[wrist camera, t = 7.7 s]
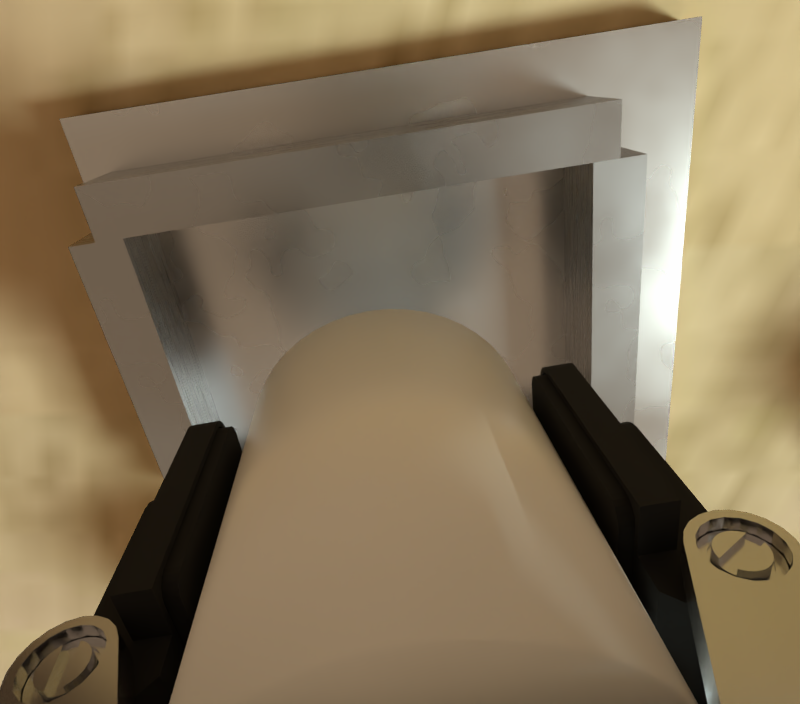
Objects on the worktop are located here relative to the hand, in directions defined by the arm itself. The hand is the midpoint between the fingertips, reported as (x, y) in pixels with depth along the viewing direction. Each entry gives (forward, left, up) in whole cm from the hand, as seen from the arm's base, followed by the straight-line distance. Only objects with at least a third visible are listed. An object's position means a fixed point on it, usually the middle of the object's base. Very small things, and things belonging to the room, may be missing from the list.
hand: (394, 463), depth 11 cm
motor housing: (+3, +1, -7) cm, 7 cm away
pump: (0, 0, -1) cm, 1 cm away
